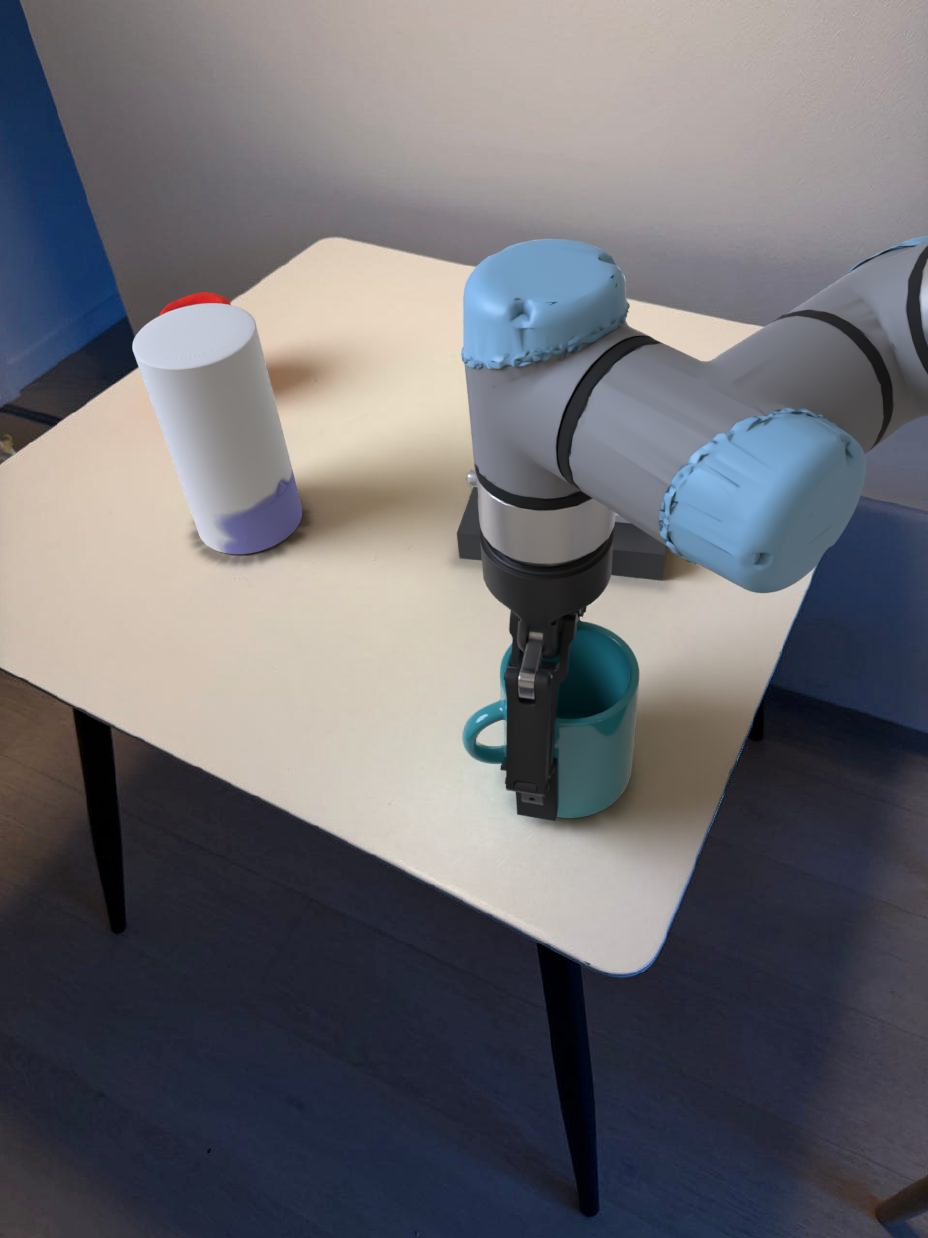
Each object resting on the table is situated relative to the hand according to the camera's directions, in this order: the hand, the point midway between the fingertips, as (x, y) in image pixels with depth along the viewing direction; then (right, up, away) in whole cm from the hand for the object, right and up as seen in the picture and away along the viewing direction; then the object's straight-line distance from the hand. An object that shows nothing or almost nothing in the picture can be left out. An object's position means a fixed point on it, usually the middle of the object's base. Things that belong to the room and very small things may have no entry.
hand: (549, 755), depth 72 cm
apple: (-34, +35, +38) cm, 62 cm away
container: (-27, +19, +23) cm, 40 cm away
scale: (+4, +20, +20) cm, 29 cm away
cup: (0, -1, +1) cm, 2 cm away
